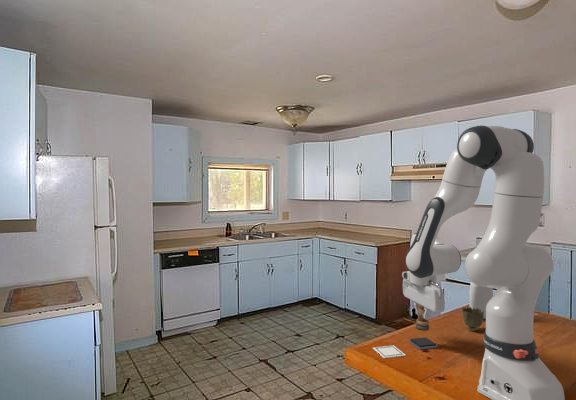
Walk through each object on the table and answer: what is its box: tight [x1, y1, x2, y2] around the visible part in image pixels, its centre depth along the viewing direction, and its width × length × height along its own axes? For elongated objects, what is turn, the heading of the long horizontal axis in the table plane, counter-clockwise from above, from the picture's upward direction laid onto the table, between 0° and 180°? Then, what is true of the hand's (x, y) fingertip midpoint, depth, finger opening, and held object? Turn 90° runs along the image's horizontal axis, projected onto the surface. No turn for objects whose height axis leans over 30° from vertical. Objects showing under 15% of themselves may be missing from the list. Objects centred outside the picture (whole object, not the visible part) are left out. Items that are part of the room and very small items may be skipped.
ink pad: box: [408, 336, 439, 351], centre depth 131 cm, size 7×7×1 cm
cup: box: [461, 306, 484, 332], centre depth 144 cm, size 8×7×8 cm
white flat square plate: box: [372, 345, 407, 359], centre depth 125 cm, size 8×8×1 cm
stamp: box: [415, 304, 430, 332], centre depth 131 cm, size 4×4×10 cm
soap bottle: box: [468, 280, 494, 320], centre depth 158 cm, size 14×8×27 cm, turn 122°
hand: (422, 316), depth 131 cm, fingers closed on stamp, 3 cm apart
